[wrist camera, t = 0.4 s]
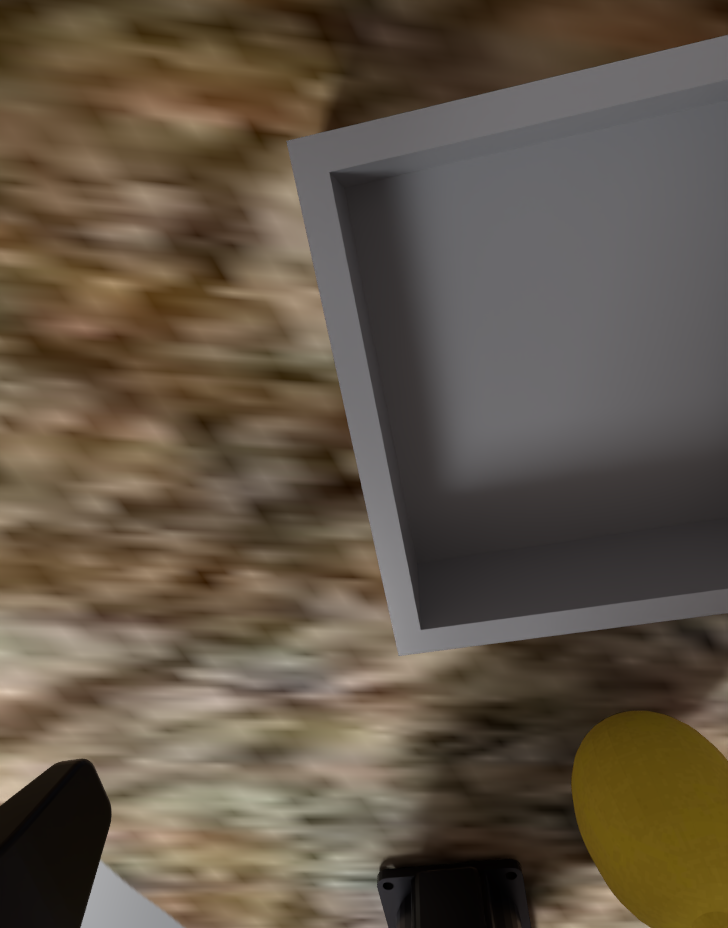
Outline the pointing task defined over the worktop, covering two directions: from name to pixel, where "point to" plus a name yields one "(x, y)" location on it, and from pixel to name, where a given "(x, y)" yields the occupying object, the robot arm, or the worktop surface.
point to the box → (536, 346)
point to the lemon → (656, 818)
